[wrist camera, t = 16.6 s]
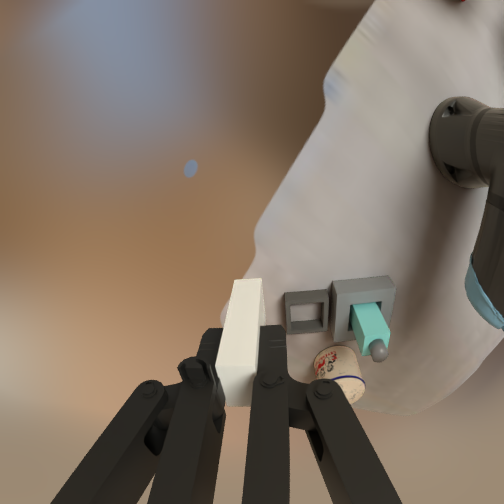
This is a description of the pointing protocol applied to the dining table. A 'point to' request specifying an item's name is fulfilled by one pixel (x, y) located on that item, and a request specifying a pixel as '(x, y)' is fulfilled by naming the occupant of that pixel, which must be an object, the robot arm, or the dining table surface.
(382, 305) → the port panel
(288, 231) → the dining table surface
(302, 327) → the frame
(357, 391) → the teacup with lid
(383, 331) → the aqua plug
